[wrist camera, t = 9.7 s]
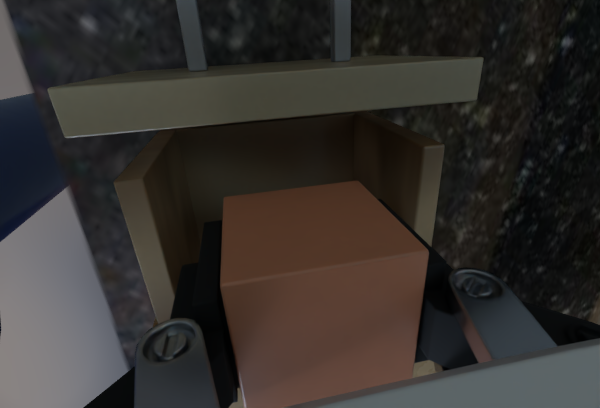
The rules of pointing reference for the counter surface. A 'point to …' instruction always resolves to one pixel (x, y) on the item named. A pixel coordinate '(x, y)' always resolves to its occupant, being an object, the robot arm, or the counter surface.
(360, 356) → the block
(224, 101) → the drawer
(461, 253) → the counter surface
